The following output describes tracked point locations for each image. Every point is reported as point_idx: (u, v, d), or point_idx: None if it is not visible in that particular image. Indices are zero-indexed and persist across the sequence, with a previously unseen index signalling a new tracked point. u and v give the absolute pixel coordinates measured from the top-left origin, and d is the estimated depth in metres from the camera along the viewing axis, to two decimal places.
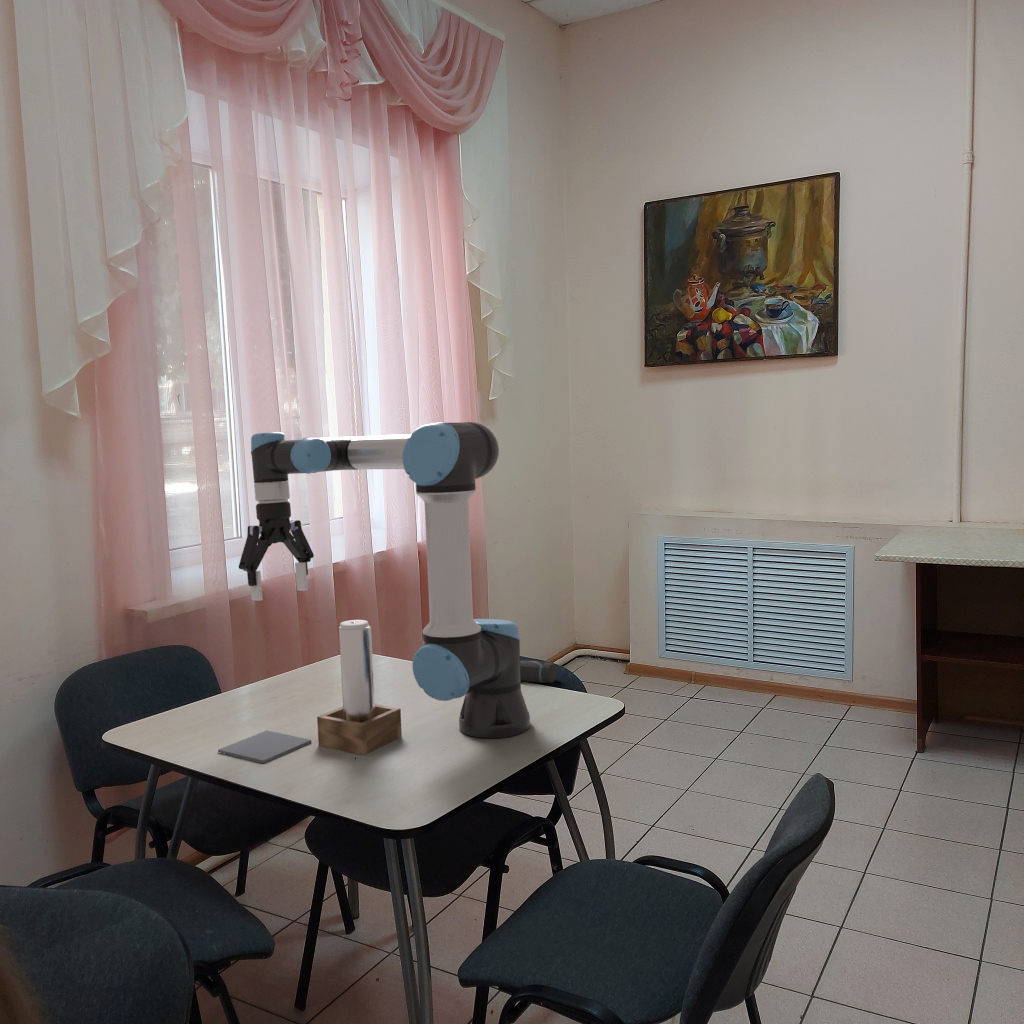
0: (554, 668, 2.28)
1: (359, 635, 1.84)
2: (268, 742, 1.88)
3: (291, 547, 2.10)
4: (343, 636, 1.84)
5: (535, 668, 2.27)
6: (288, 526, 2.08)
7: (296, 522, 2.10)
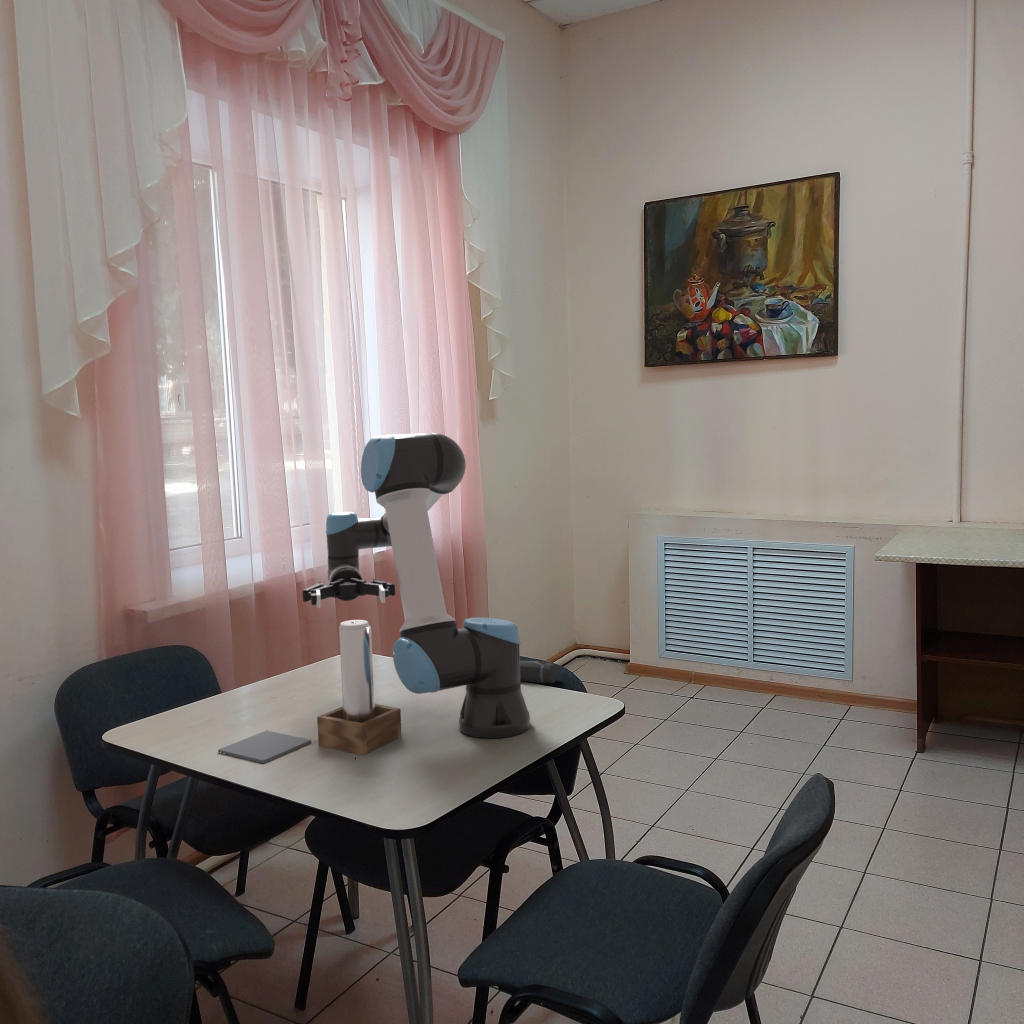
0: (555, 669, 2.28)
1: (359, 635, 1.84)
2: (268, 742, 1.88)
3: (368, 588, 2.07)
4: (343, 636, 1.84)
5: (536, 668, 2.26)
6: None
7: None
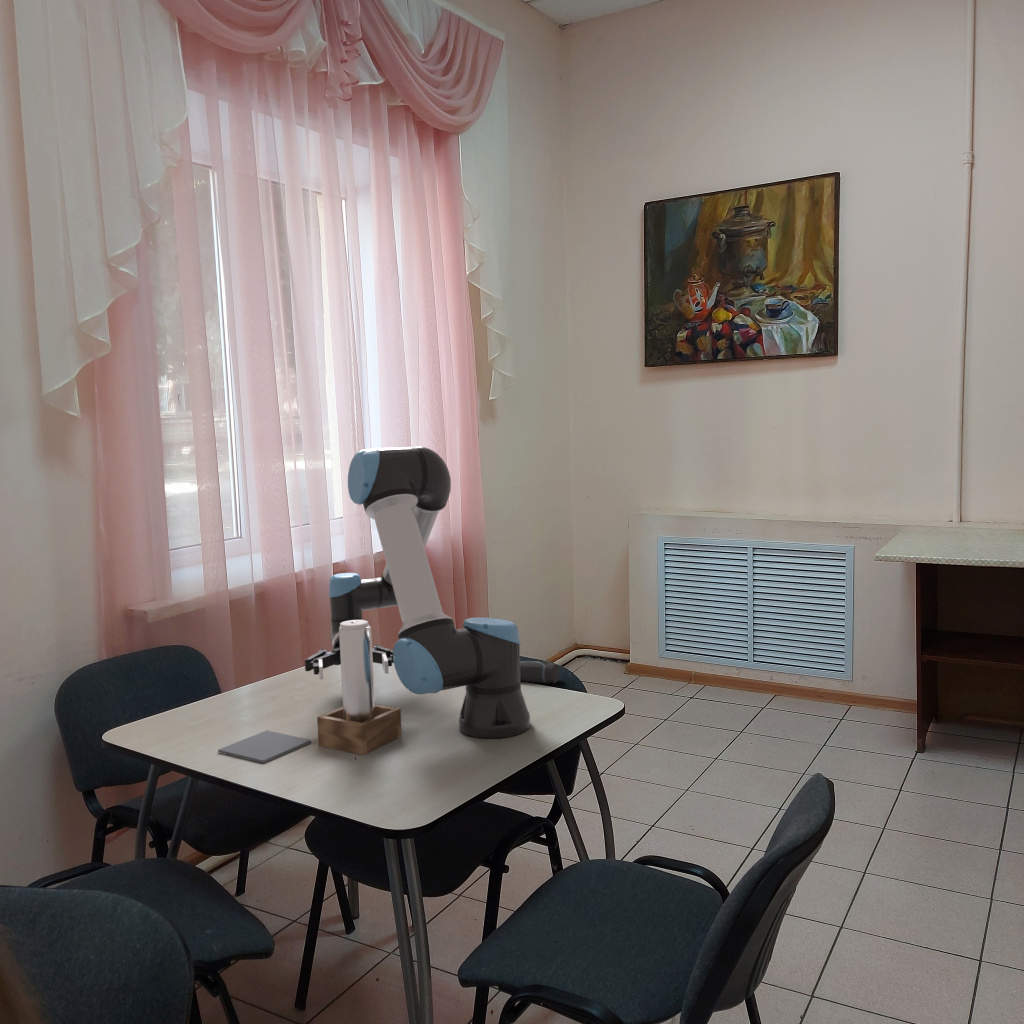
0: (557, 669, 2.28)
1: (359, 635, 1.84)
2: (268, 742, 1.88)
3: None
4: (343, 636, 1.84)
5: (538, 668, 2.26)
6: None
7: None
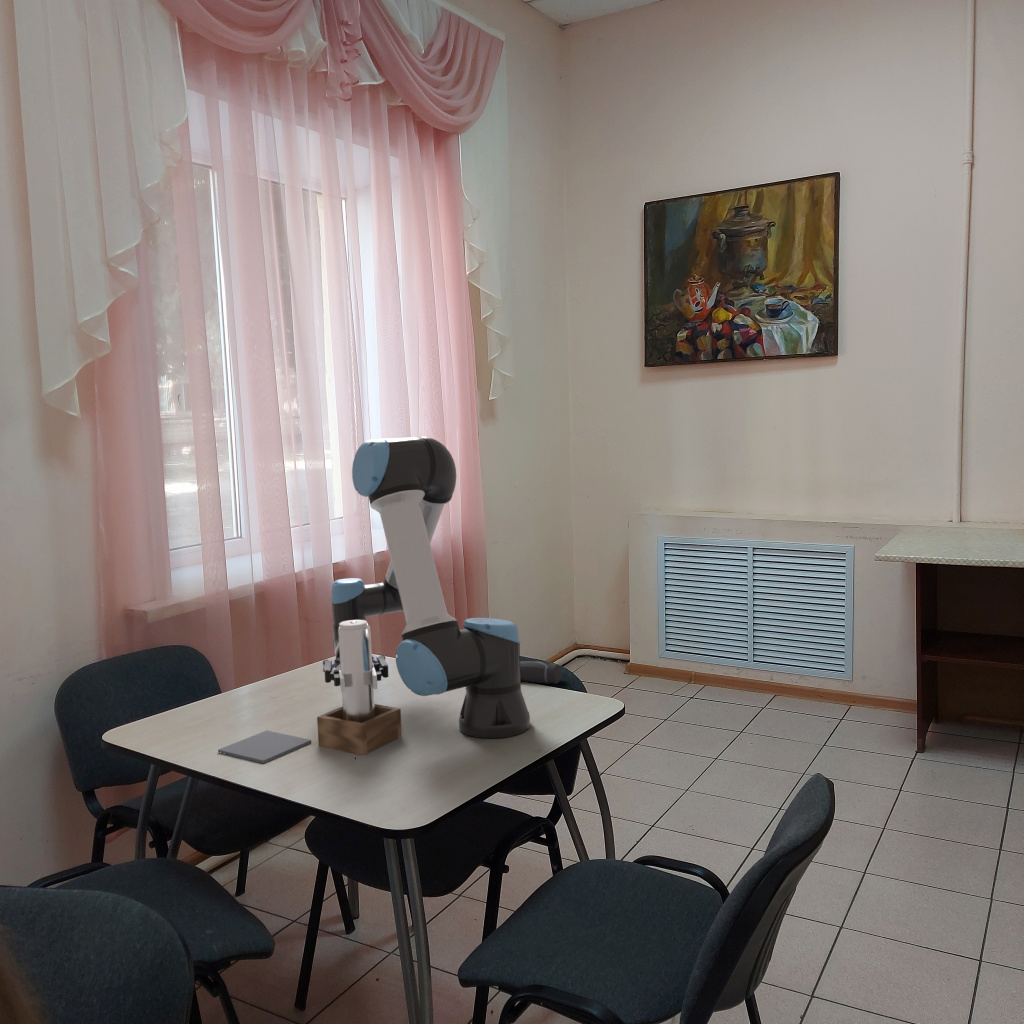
0: (559, 669, 2.28)
1: (358, 635, 1.84)
2: (268, 742, 1.88)
3: None
4: (342, 636, 1.84)
5: (540, 668, 2.26)
6: None
7: None
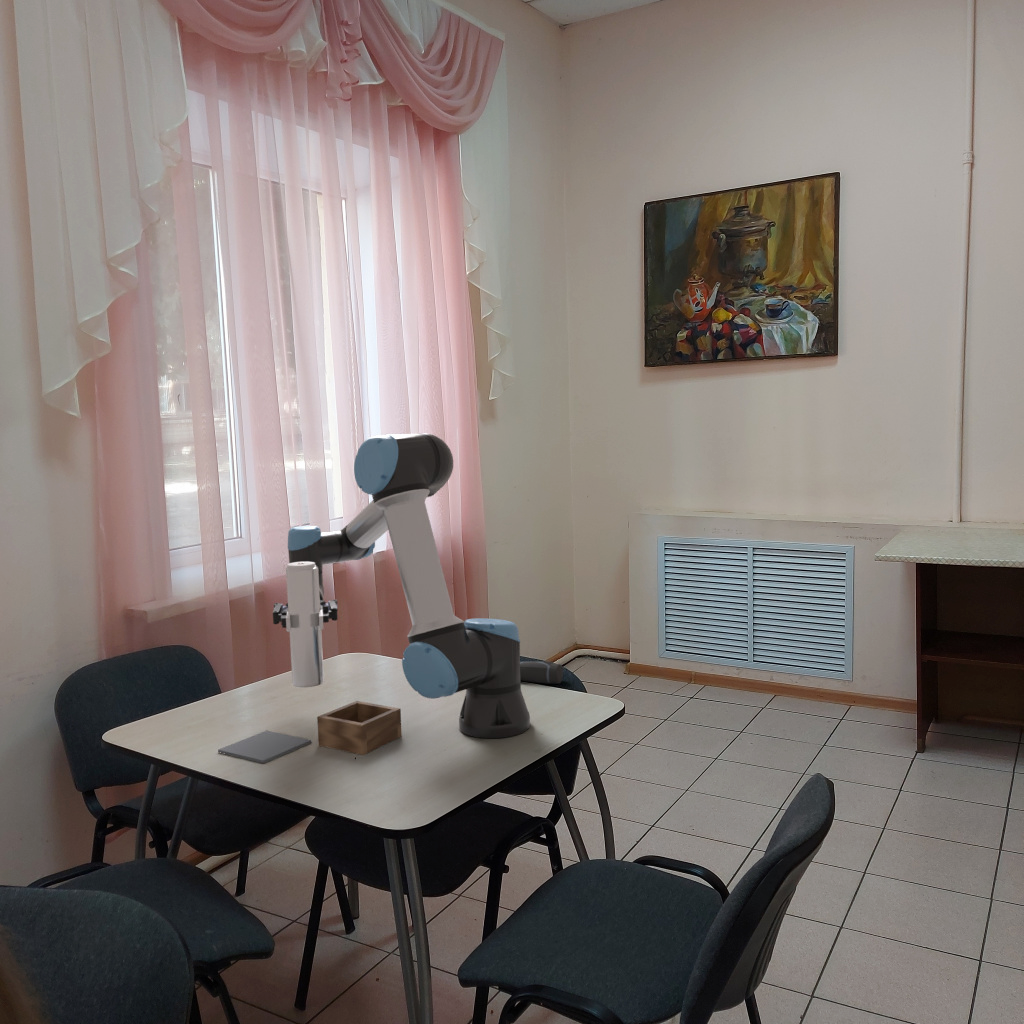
0: (561, 669, 2.27)
1: (305, 575, 1.83)
2: (268, 742, 1.88)
3: None
4: (289, 577, 1.84)
5: (542, 668, 2.26)
6: None
7: None
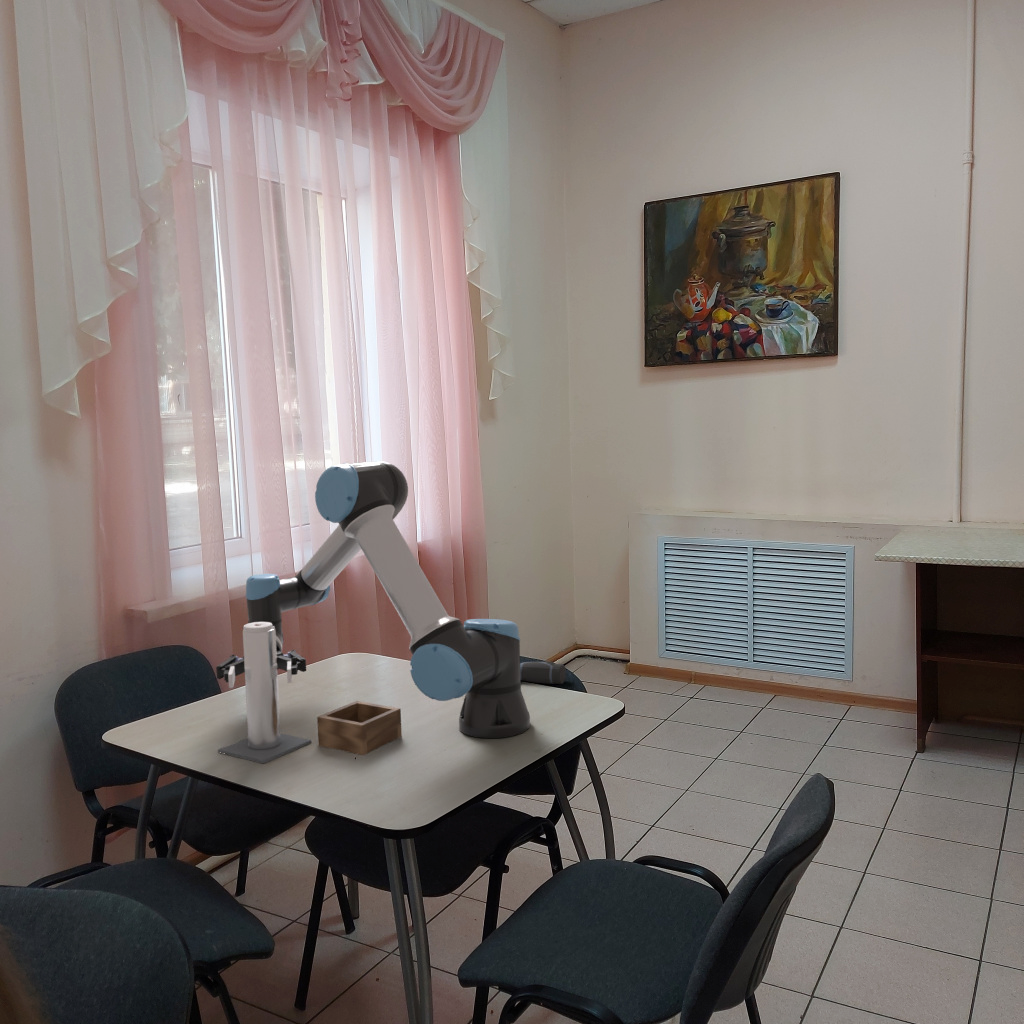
0: (564, 669, 2.27)
1: (262, 638, 1.82)
2: None
3: (280, 662, 1.93)
4: (246, 639, 1.82)
5: (545, 669, 2.25)
6: (277, 652, 1.98)
7: None
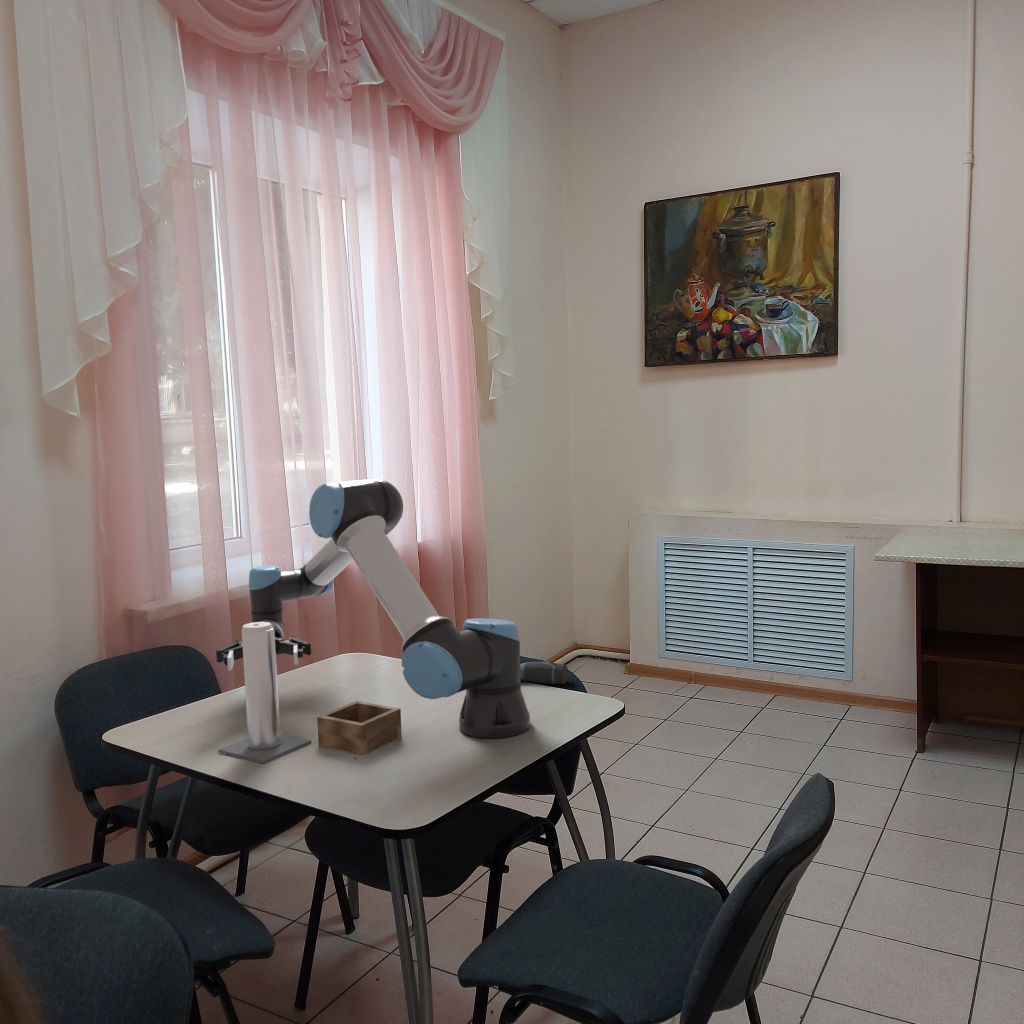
0: (566, 669, 2.27)
1: (260, 637, 1.82)
2: None
3: (284, 647, 2.06)
4: (245, 639, 1.82)
5: (547, 669, 2.25)
6: None
7: None
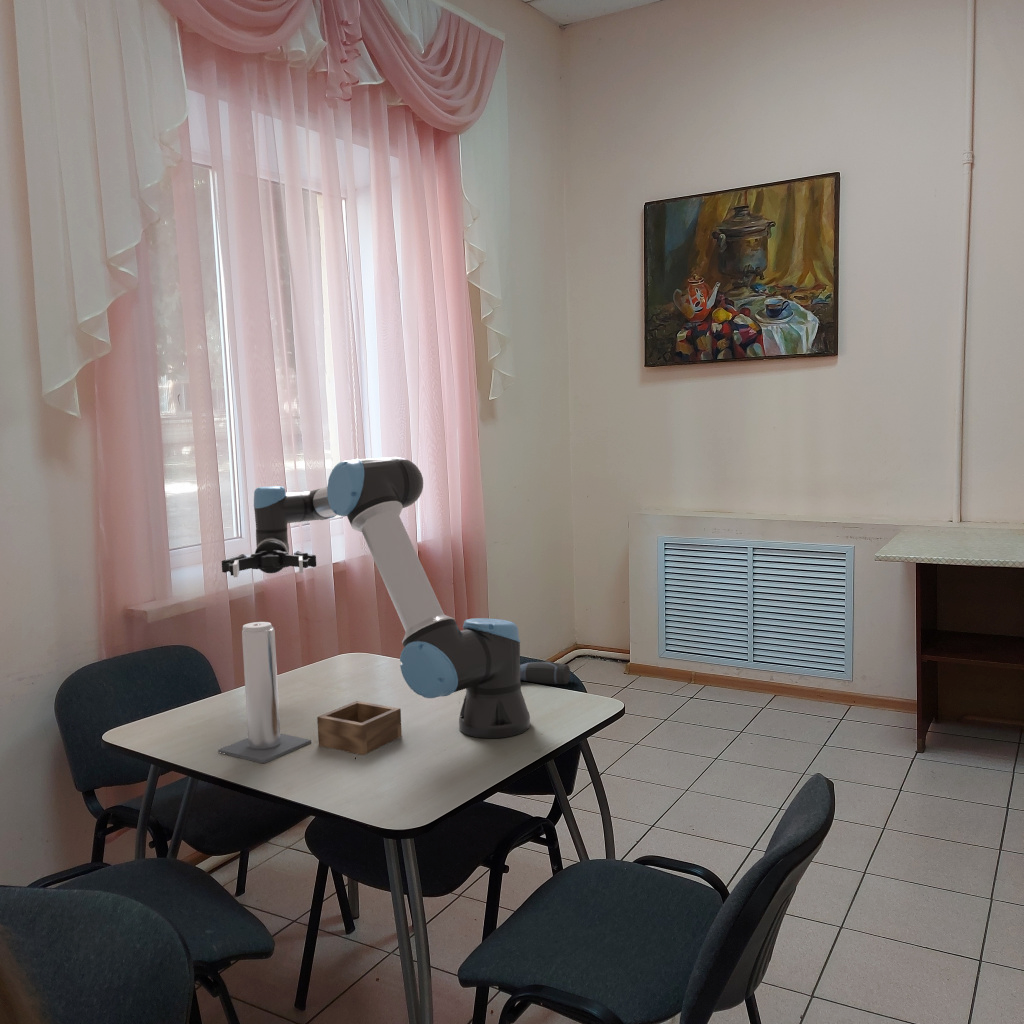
0: (568, 669, 2.27)
1: (261, 637, 1.82)
2: None
3: (289, 559, 2.06)
4: (245, 639, 1.82)
5: (550, 669, 2.25)
6: None
7: None
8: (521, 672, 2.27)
